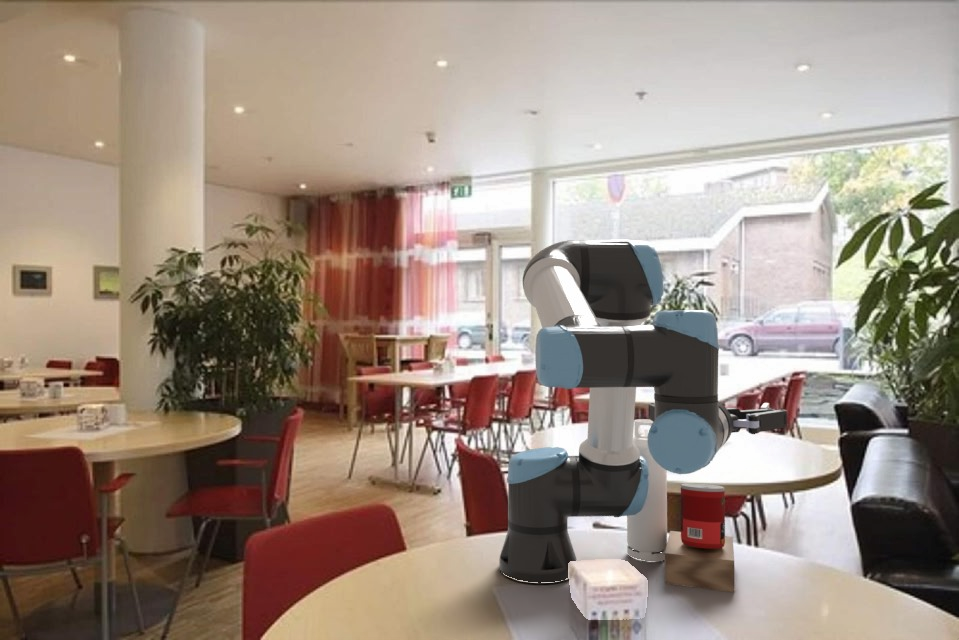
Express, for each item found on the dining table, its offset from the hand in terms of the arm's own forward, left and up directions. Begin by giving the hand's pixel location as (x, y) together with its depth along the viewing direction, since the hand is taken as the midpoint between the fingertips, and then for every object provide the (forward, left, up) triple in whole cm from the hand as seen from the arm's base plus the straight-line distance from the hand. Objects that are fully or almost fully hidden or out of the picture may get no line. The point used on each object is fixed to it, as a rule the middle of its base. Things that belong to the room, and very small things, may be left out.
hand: (721, 409), depth 107 cm
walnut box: (-7, +17, -34) cm, 39 cm away
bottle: (-18, +23, -34) cm, 45 cm away
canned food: (-6, +16, -28) cm, 33 cm away
